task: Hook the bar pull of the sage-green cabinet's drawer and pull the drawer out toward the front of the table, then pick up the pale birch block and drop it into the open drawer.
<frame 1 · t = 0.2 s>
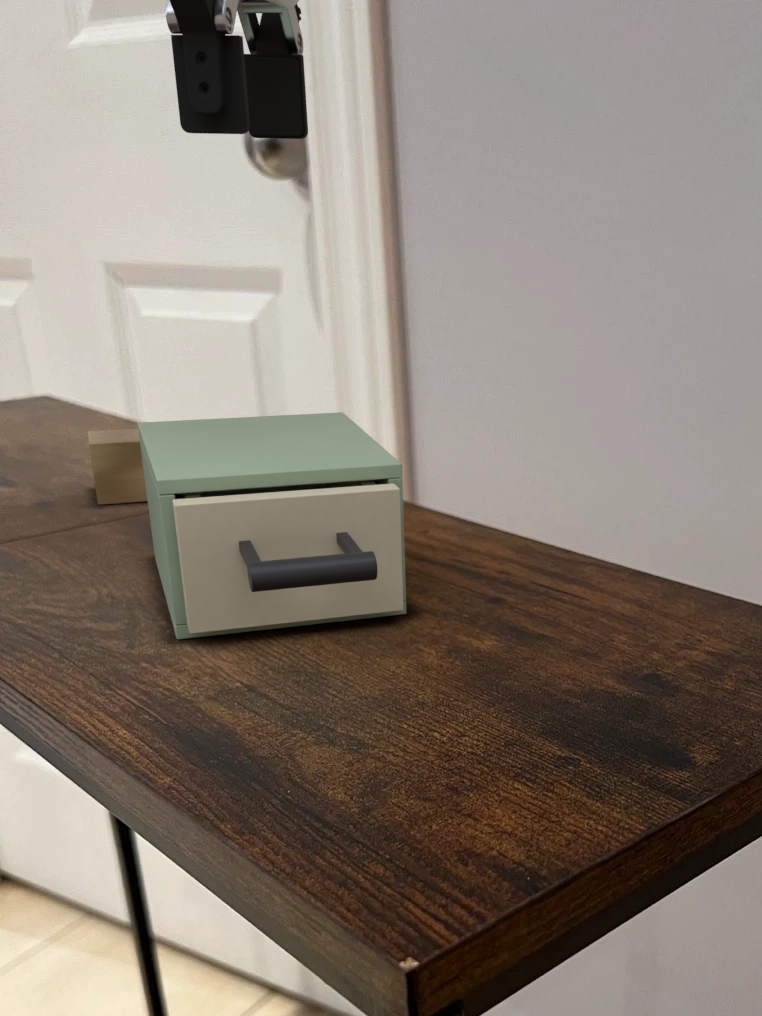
hand: (249, 135, 59), 24 cm above the table, tool pointing down, fingers open, 9 cm apart
block: (128, 495, 87), on the table
cabinet: (273, 585, 69), on the table
drawer: (282, 539, 63), point 4 cm above the table, slide at 0.5 cm
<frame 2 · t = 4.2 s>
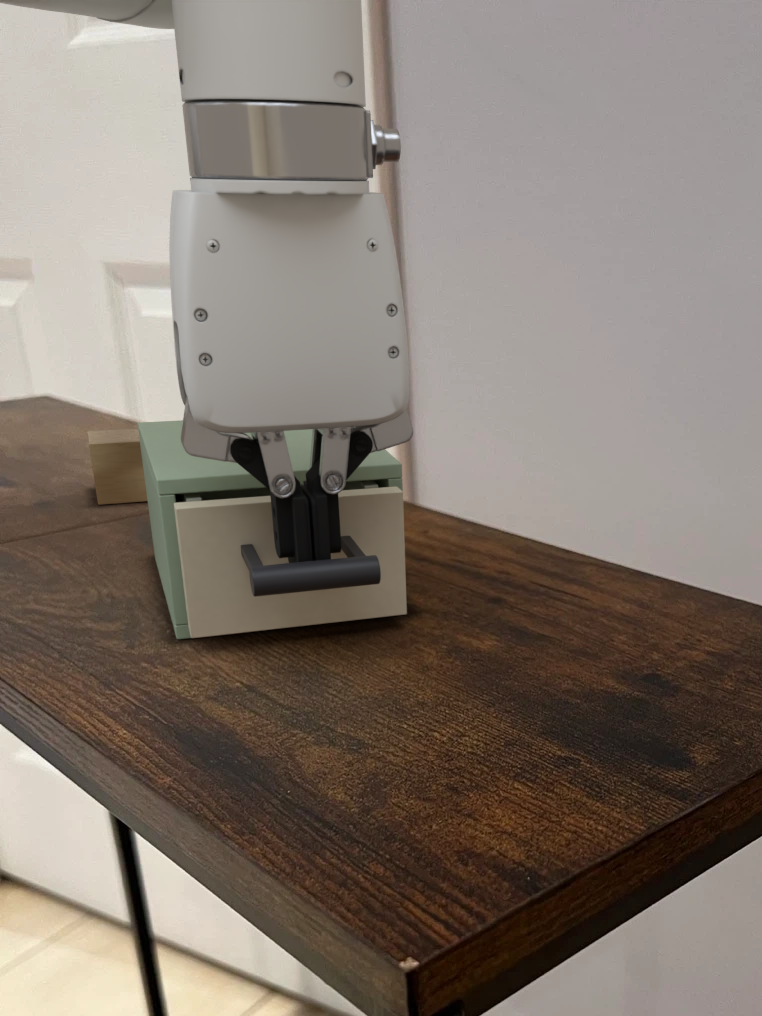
hand: (309, 568, 57), 5 cm above the table, tool pointing down, fingers closed
drawer: (284, 543, 62), point 4 cm above the table, slide at 1.2 cm, touching gripper
everything else where it was.
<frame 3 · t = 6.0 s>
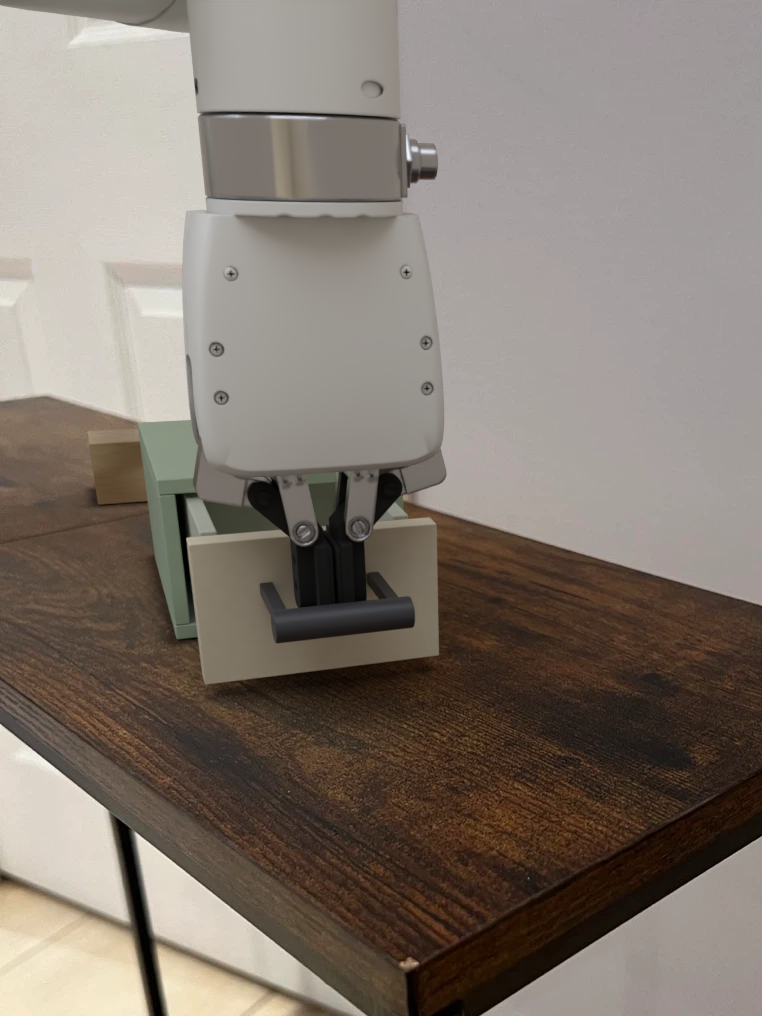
hand: (331, 619, 52), 4 cm above the table, tool pointing down, fingers closed
drawer: (306, 578, 57), point 4 cm above the table, slide at 7.3 cm
everything else where it was.
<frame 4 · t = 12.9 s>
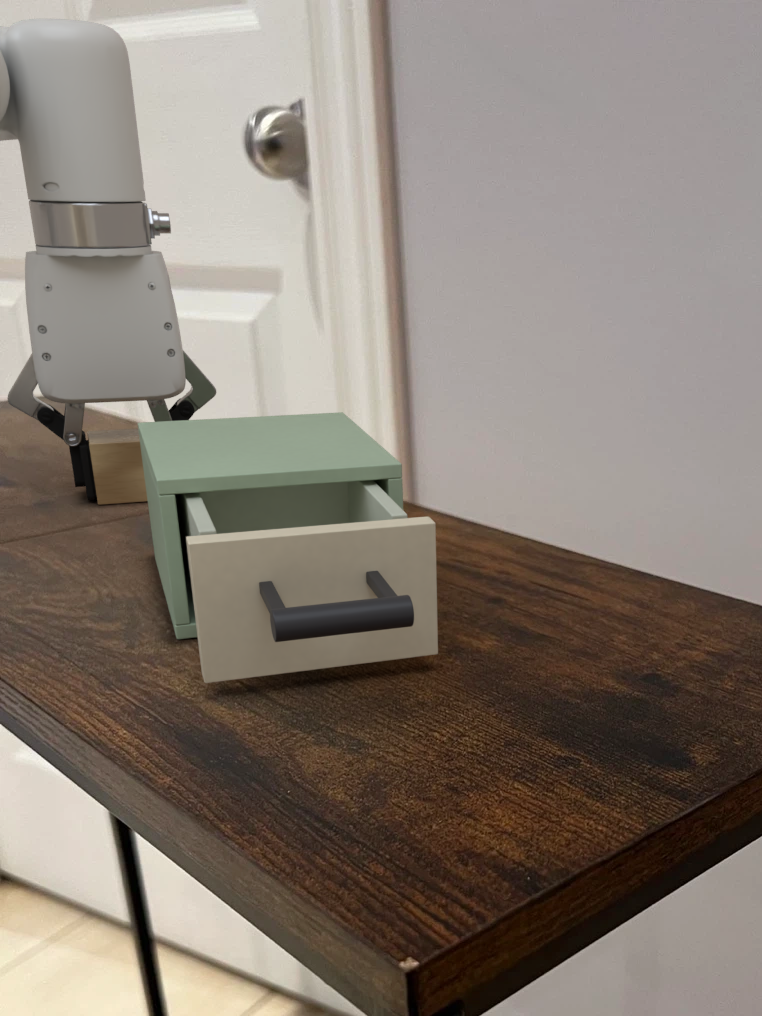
hand: (127, 490, 87), 0 cm above the table, tool pointing down, fingers closed on block, 4 cm apart
block: (128, 495, 87), on the table, touching gripper
everything else where it was.
when the fingers open (7 cm above the table, at t = 19.9 s): block drops 5 cm, resting on drawer.
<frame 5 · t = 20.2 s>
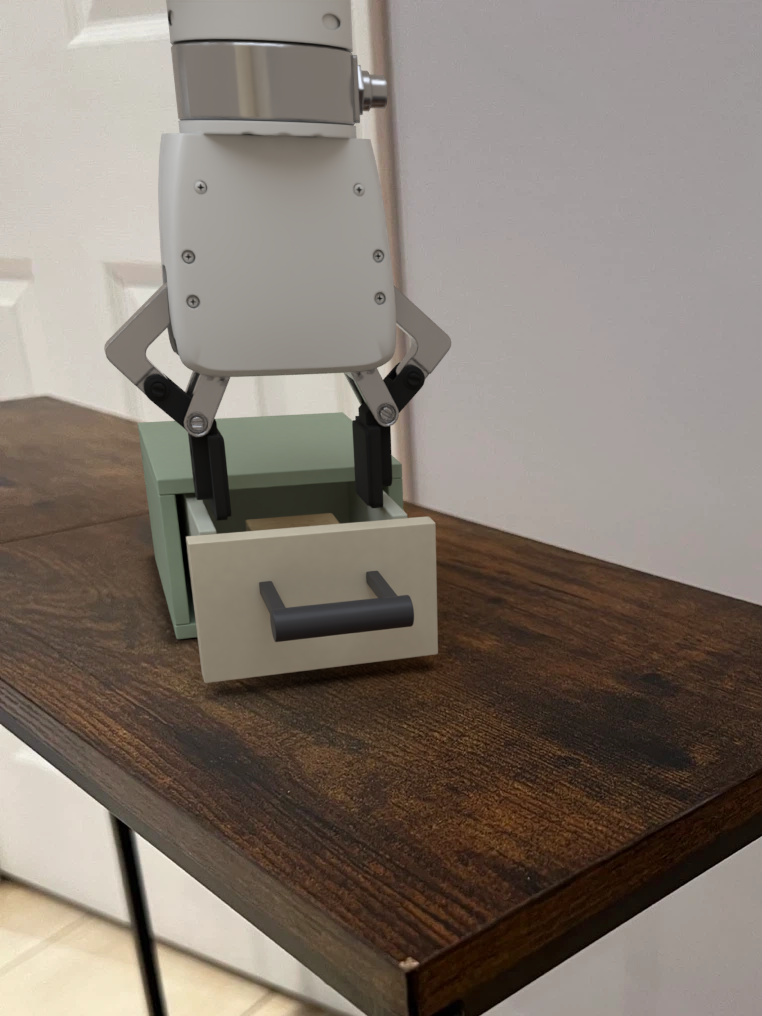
hand: (296, 504, 57), 8 cm above the table, tool pointing down, fingers open, 6 cm apart
block: (303, 612, 59), point 2 cm above the table, touching drawer
drawer: (305, 577, 57), point 4 cm above the table, slide at 7.1 cm, touching block
everything else where it was.
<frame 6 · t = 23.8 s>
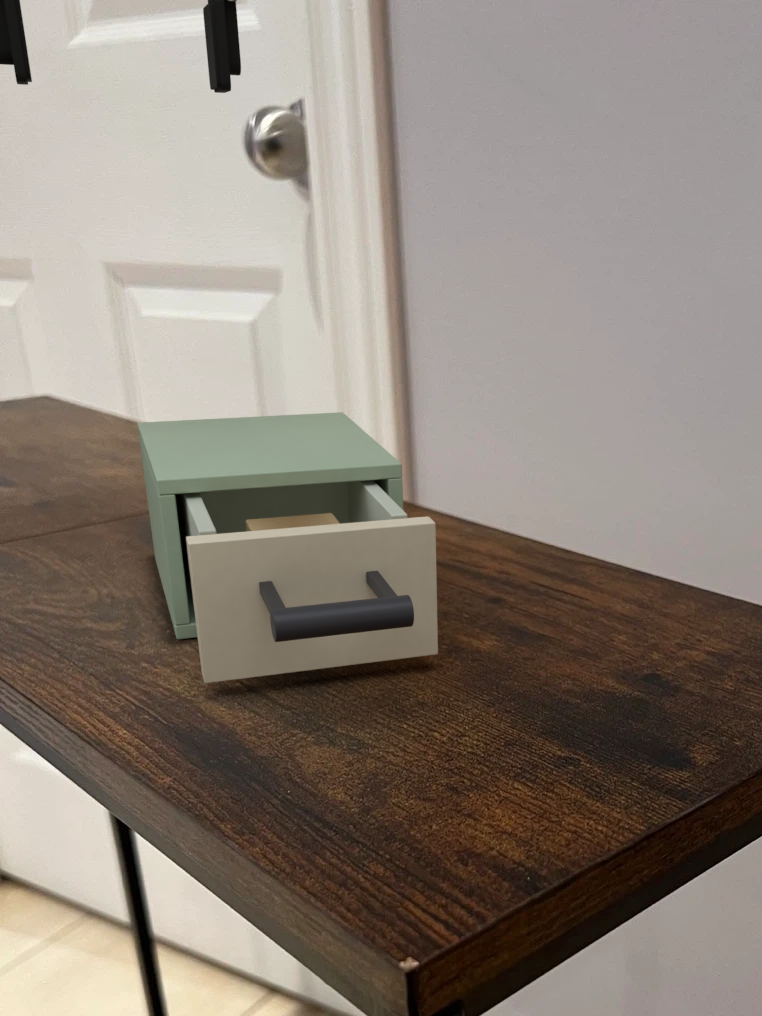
hand: (125, 87, 59), 26 cm above the table, tool pointing down, fingers open, 9 cm apart
nothing on the table moved.
at the end: drawer slide at 7.1 cm; block inside the target area in the drawer (1.1 cm from its centre), point 2.0 cm above the cabinet's base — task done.
